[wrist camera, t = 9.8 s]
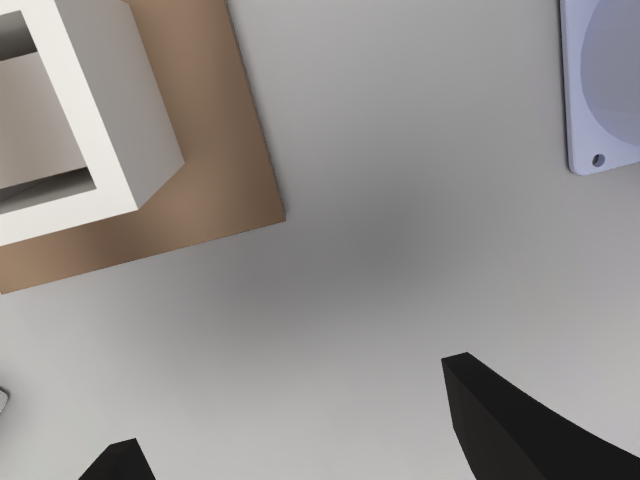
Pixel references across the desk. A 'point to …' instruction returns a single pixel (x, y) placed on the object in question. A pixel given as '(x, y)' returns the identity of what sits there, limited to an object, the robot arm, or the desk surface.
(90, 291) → the desk surface
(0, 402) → the medicine bottle
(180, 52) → the duct base
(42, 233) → the sleeve
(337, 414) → the desk surface
